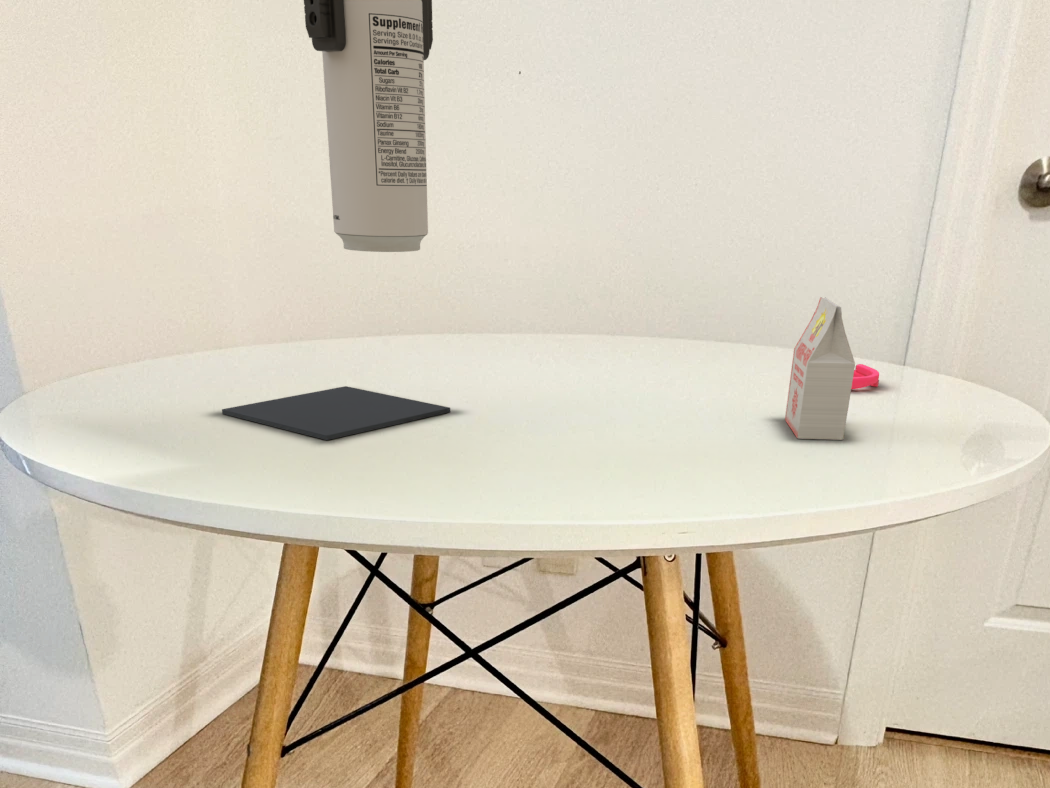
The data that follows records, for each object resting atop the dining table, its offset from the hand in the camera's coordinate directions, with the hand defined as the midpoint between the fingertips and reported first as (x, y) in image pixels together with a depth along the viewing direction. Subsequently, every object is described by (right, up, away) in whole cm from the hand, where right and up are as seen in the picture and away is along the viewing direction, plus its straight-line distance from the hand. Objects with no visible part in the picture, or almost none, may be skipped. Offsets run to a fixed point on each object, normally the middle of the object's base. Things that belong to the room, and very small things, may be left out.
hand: (372, 54), depth 60 cm
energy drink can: (0, -9, +5) cm, 11 cm away
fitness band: (+41, -6, +42) cm, 59 cm away
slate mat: (-8, -13, +28) cm, 32 cm away
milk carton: (+33, -16, +24) cm, 44 cm away
